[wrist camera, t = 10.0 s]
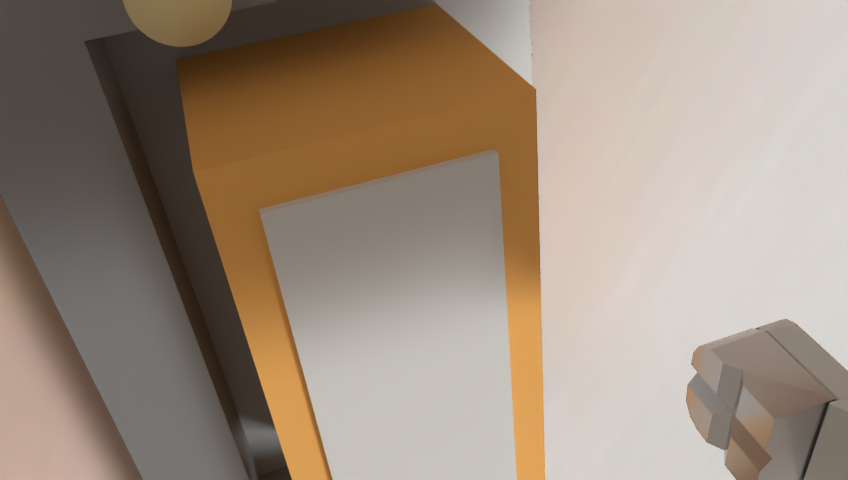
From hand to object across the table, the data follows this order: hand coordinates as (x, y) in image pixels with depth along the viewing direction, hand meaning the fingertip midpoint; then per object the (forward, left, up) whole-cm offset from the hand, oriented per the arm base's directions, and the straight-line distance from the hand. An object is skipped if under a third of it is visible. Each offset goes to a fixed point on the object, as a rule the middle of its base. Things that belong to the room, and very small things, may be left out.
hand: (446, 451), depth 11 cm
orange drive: (+1, 0, -7) cm, 7 cm away
